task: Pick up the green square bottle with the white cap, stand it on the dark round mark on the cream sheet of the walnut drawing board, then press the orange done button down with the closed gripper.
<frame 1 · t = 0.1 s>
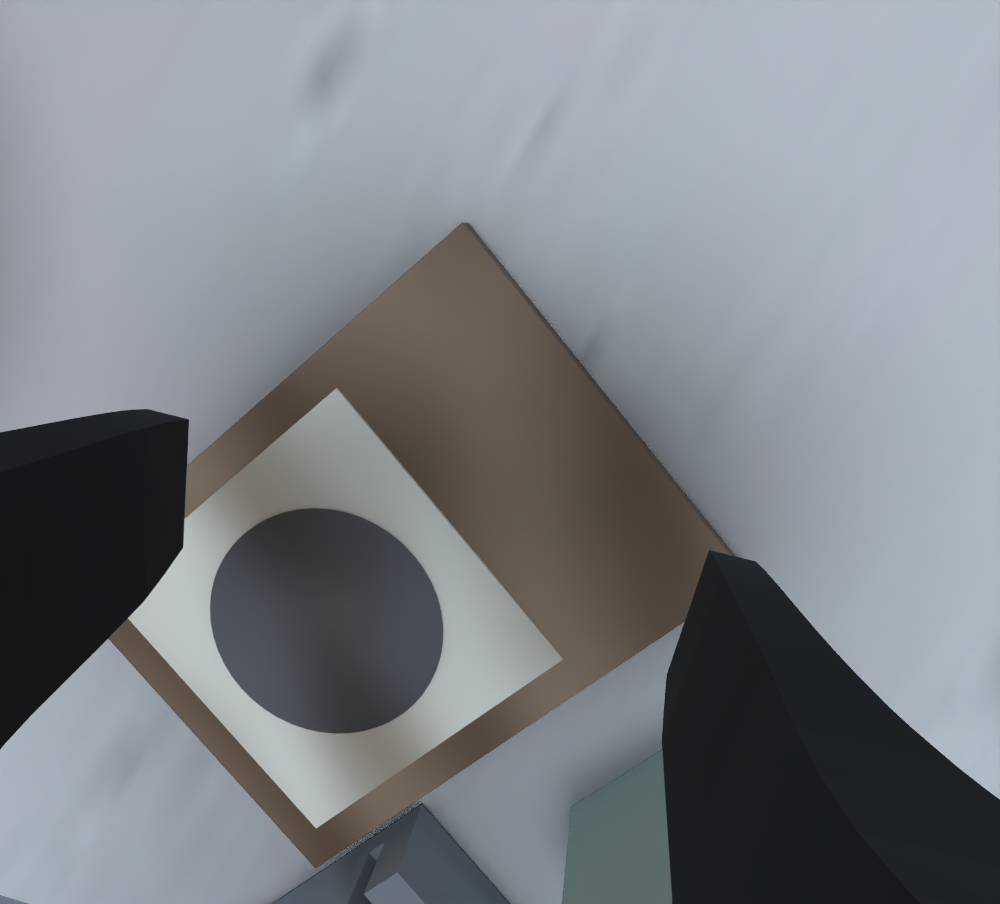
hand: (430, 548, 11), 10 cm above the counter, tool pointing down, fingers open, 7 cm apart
green square bottle: (672, 824, 24), on the counter
drawing board: (389, 569, 23), on the counter
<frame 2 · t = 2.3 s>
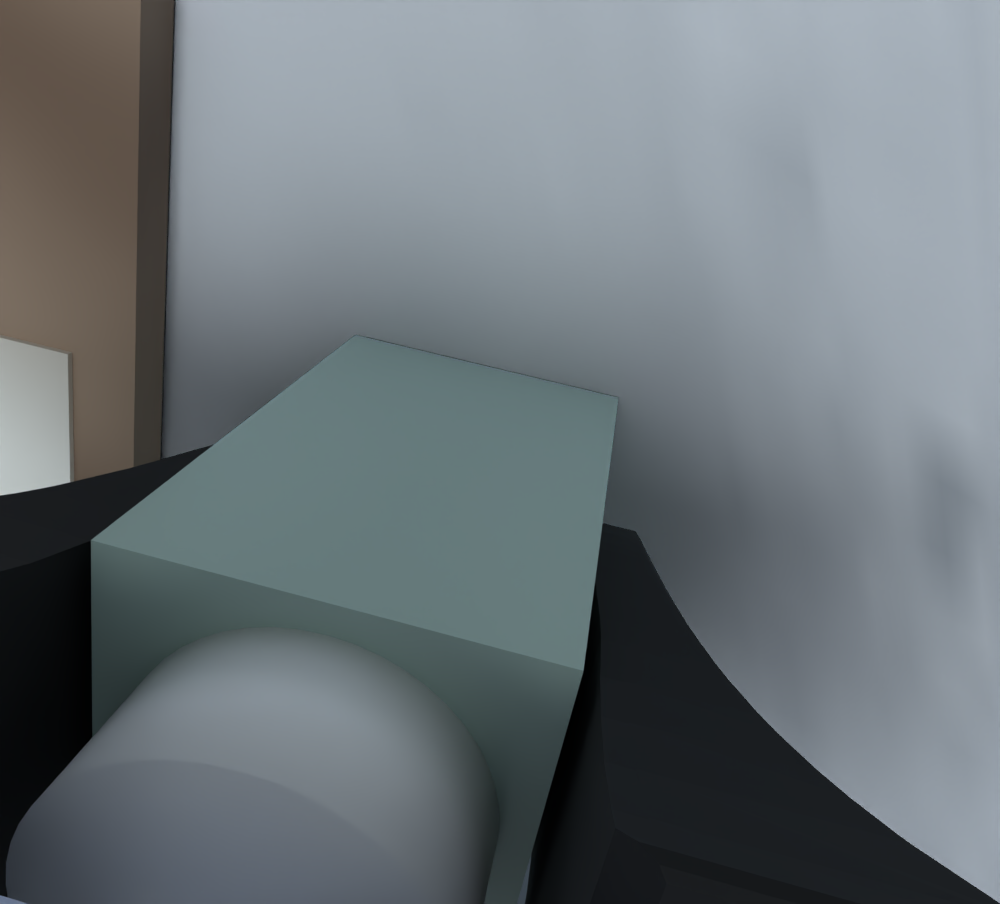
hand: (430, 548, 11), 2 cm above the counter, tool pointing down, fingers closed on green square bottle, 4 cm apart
green square bottle: (462, 485, 13), on the counter, touching gripper
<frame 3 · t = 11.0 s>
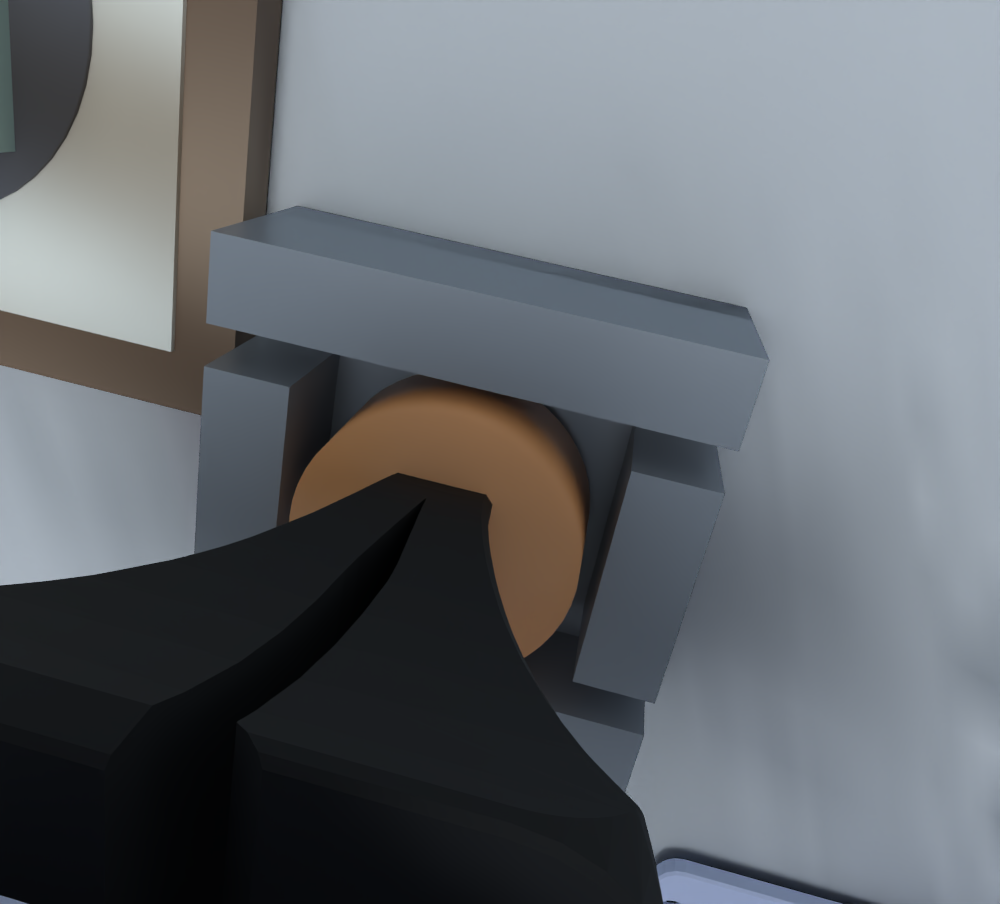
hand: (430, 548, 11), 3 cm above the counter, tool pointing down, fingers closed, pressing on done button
button housing: (476, 462, 14), on the counter
done button: (446, 522, 12), point 2 cm above the counter, slide at 0.9 cm, touching gripper
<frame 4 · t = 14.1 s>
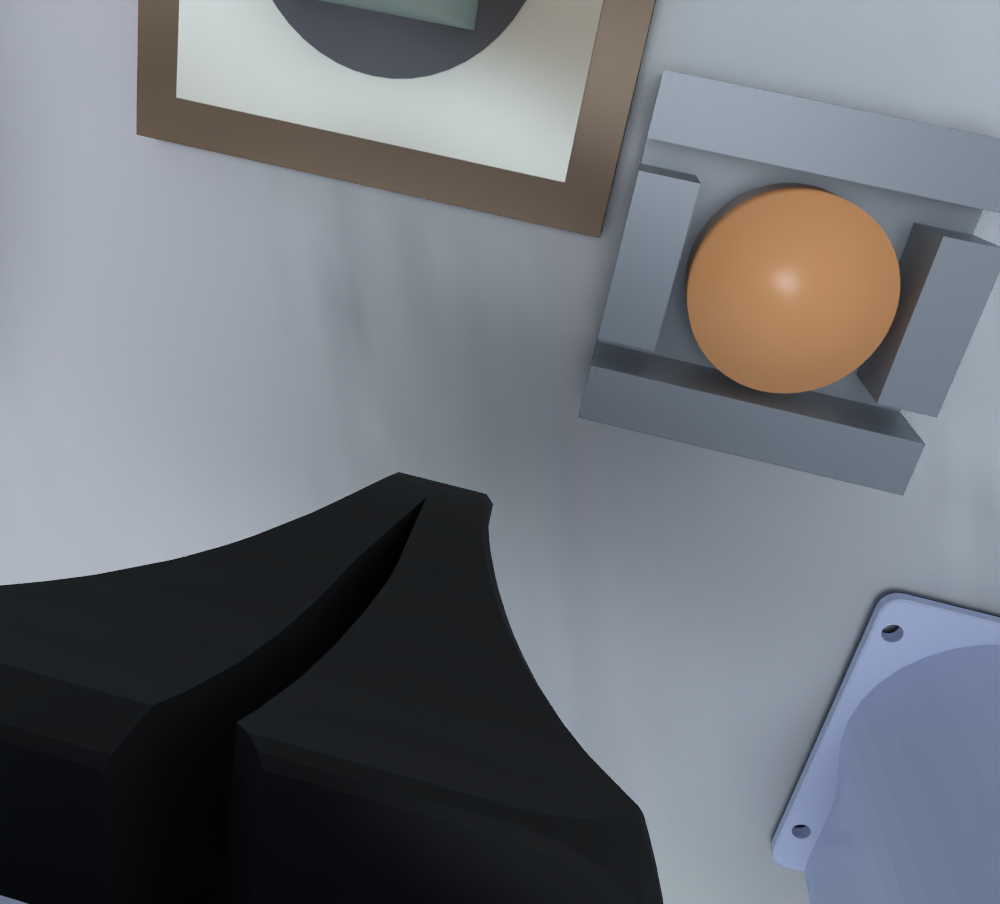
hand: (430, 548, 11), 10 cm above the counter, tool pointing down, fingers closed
button housing: (773, 271, 19), on the counter
done button: (785, 287, 18), point 2 cm above the counter, slide at 1.2 cm
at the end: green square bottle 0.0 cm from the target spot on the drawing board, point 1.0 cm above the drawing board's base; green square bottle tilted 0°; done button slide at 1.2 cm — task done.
